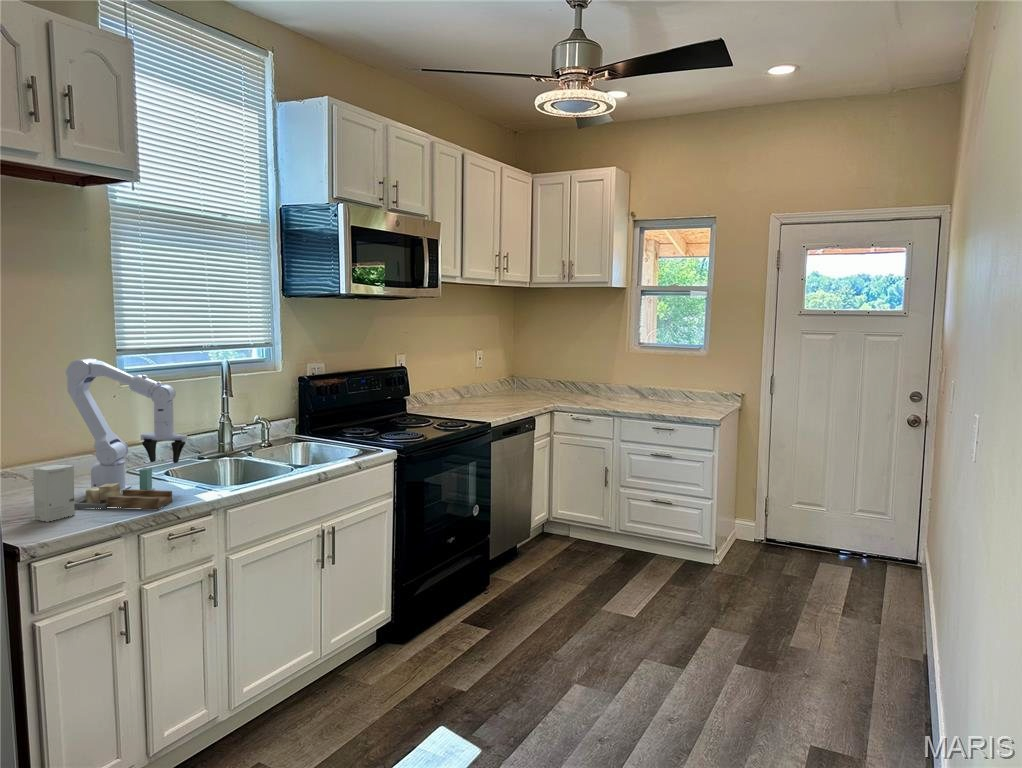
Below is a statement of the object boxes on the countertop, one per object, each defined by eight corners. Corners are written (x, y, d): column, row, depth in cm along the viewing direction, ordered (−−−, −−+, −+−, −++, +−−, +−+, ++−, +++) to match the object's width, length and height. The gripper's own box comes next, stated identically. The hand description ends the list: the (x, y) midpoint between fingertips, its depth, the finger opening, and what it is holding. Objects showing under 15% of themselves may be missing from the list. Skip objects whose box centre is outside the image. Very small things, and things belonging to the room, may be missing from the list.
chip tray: (73, 508, 205) (72, 503, 205) (96, 497, 217) (96, 493, 217) (104, 509, 206) (104, 504, 205) (127, 498, 218) (126, 494, 217)
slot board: (107, 508, 207) (107, 496, 207) (124, 500, 216) (124, 489, 216) (157, 509, 207) (157, 498, 207) (172, 501, 216) (172, 490, 216)
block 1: (99, 503, 210) (86, 503, 210) (107, 499, 214) (94, 499, 214) (98, 490, 209) (85, 490, 209) (106, 487, 213) (93, 487, 213)
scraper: (137, 498, 219) (136, 470, 218) (145, 494, 224) (144, 466, 223) (146, 498, 219) (146, 470, 218) (154, 494, 224) (154, 467, 223)
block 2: (100, 499, 210) (98, 487, 209) (107, 496, 214) (106, 483, 213) (113, 499, 210) (111, 486, 209) (120, 495, 214) (119, 483, 213)
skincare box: (47, 523, 192) (46, 470, 190) (32, 519, 194) (31, 468, 192) (76, 515, 199) (74, 464, 198) (61, 512, 202) (60, 462, 200)
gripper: (135, 422, 223) (136, 463, 224) (180, 424, 223) (180, 465, 225) (146, 419, 230) (147, 459, 231) (190, 421, 230) (190, 460, 232)
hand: (164, 462), depth 229 cm, fingers open, 7 cm apart
